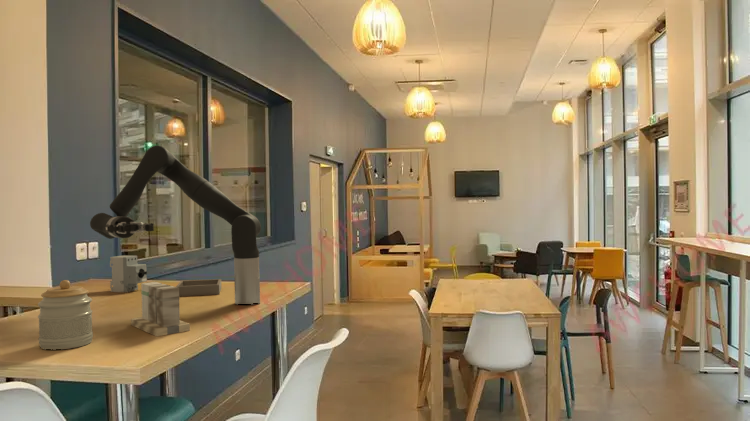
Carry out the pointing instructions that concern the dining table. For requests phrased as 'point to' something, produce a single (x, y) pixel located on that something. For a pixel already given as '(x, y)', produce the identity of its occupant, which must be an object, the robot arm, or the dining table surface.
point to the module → (146, 298)
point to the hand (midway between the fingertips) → (137, 228)
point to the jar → (65, 317)
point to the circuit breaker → (126, 273)
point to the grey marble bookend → (162, 312)
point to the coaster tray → (199, 287)
